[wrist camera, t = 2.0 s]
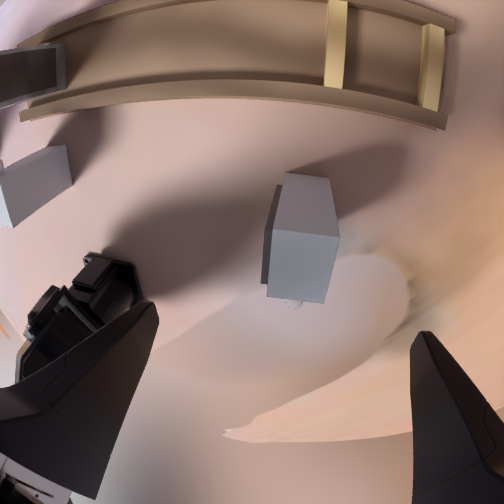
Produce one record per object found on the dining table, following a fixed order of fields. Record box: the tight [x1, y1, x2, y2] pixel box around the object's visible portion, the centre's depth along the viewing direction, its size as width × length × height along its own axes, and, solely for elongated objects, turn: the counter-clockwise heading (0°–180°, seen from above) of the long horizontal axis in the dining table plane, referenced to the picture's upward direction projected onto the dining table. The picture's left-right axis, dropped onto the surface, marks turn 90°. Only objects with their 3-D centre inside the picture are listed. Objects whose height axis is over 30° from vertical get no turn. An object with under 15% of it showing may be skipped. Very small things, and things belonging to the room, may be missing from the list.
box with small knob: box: [0, 144, 73, 228], centre depth 18 cm, size 3×5×8 cm, turn 178°
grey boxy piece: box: [261, 172, 340, 309], centre depth 17 cm, size 3×5×8 cm, turn 178°
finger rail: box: [0, 0, 455, 130], centre depth 11 cm, size 8×32×9 cm, turn 88°
